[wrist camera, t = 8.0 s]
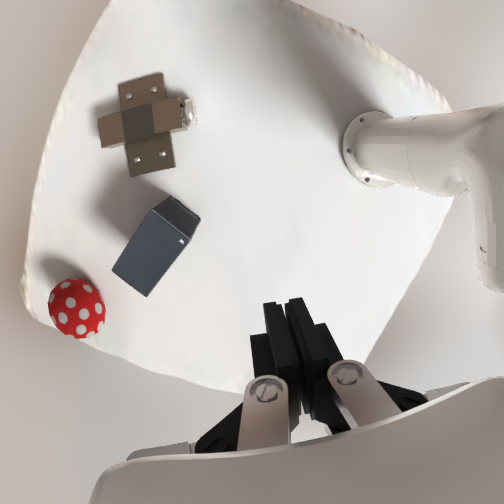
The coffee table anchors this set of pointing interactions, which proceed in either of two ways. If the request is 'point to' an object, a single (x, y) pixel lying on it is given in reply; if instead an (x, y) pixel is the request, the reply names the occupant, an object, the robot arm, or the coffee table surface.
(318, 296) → the coffee table surface
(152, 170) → the hinge
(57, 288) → the decorative mushroom
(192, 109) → the hinge pin
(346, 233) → the coffee table surface
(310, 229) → the coffee table surface
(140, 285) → the small box
